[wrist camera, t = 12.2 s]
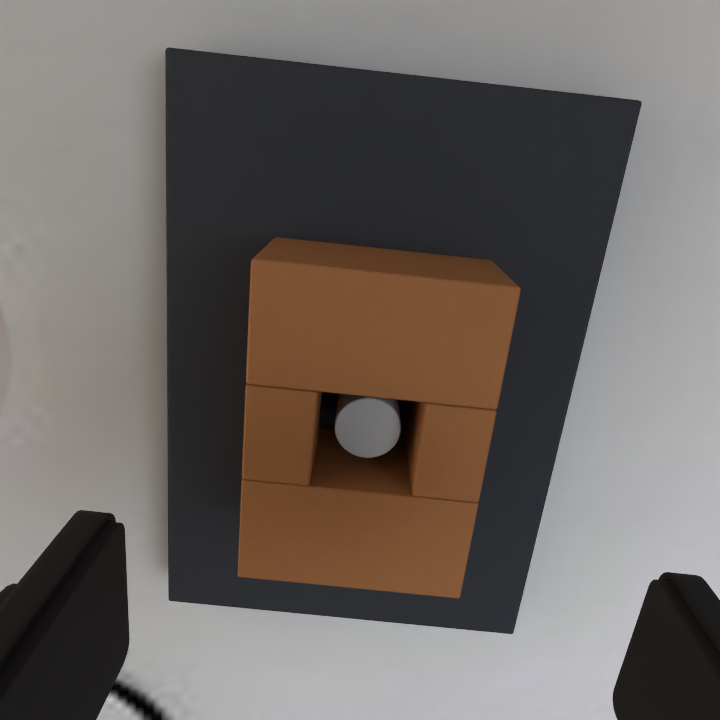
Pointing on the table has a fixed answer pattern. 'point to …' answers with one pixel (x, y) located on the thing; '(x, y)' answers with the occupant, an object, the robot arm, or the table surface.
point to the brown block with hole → (373, 379)
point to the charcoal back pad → (388, 231)
